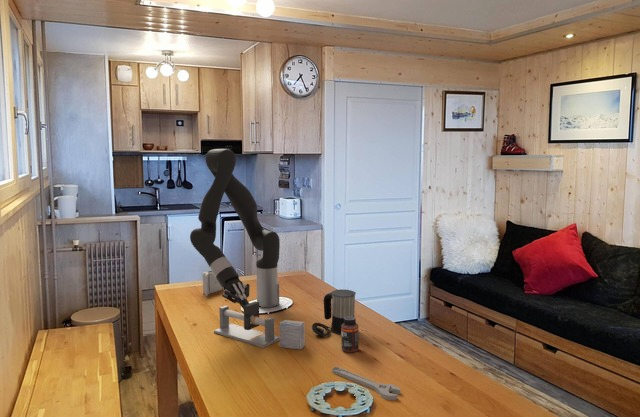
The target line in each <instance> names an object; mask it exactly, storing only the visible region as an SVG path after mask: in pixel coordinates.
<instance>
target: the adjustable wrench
mask: <svg viewBox="0 0 640 417" xmlns="http://www.w3.org/2000/svg"><path fill="white" fill-rule="evenodd" d="M331 373H333V374H334V375H337V376H340V377H343V378H344V379H347V380H349V381H352V382H355V383H357V384H359V385H362V386H364V387H366V388H369V389H372V390H374V391H375V392H376V393H377V394H378V395H379V396H380V397H381V398H383V399H384V400H388V401H396V400H398V397H399V395H401V388H400V387H398V386H397V385H394V384H392V383H387V384H386V383H380V382H377V381H373V380H372V379H369V378H366V377H365V376H361V375H359V374H356V373H354V372H351V371H350V370H347V369H345V368H342V367H339V366H332V368H331Z"/></svg>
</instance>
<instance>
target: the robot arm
mask: <svg viewBox="0 0 640 417" xmlns="http://www.w3.org/2000/svg"><path fill="white" fill-rule="evenodd" d="M236 162H237V156H236V154H235V152H234V151H233V150H231V149H229V148H214V149H210V150H208V151H207V153H206V155H205V164H206V166H207V168H208V170H209V171H210V172H211V174H212V175H213V177H214V180H213V182H212V184H211V185H210V187H209V189H208V191H207V192H206V194H205V195H204V197H203V199H202V202H201V205H200V209H199V213H198V217H197V218H198V221H199V222H200V223H201V225H200V226H201V227H197V228H195V229H193V230H191V232H190V234H189V235H190V236H189V240H190V242H191V245H192V246H193V247H194V249H195V250H196V252H198V253H199V255H201V256H202V258H204V260H205V262H206V264H207V265H208V266H209V268H210V270H212V273H213V274H214V276H215V277H216V279H217V281H218V282H219V284H220V285H221V287H223V289H222V290H224V291H223V293H222V294H221V297H223V298H224V299H226V300H228V301H230V302H232V303H233V304H239V306H240V307H241V308H242V310H243V311H244V305H247V304H249V303H250V302H249V301H248V298H249V297H250V284H249V283H246V284H244V283H243V280H242V281H241V280H240V278H239V274H238V272H237V271H236V269H235V268H234V266H233V265H232V263H231V261H229V259H228V258H227V257H226V255H225V254H224V252H223V250H222V249H221V248H220V247H219V246H217V245H216V244H215V240H216V239H217V238H216V237H217V219H218V215H219V212H220V208H221V203H222V200H223V196H224V194H225V195H226V197H227V198H228V201H229V202H230V204H231V206H232V208H233V209H234V211H235V213H236V215H238V217H239V219H240V221H241V223H242V225H243V226H244V229H245V230H246V232H247V235H248V238H249V239H250V242H251V243H252V246H253V247H254V248H255V249H256V250H258V251H262V258H259V259H257V260H256V261H255V262H256V263H255V264H256V266H255V267H256V268H255V269H256V270H255V271H256V272H255V273H256V302H259V306H261V307H260V308H264V307H269V308H274V307H277V306H280V284H279V282H278V274H279V273H278V263H279V261H280V248H281V246H280V244H281V242H280V236H279V234H278V233H277V232H276V231H272V230H268V229H265V228H263V226H262V225H261V222H260V221H259V218H258V205H257V202H256V200H255V198H254V196H253V195H252V193H251V191H250V190H249V189H248V187H246V185H244V184H243V183H242V182H241V181H240V180H239V179H238V178H237V177H236V176H234V174H233V172H234V169H235V167H236ZM276 305H277V306H276ZM273 306H274V307H273Z"/></svg>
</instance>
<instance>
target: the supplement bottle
mask: <svg viewBox="0 0 640 417" xmlns="http://www.w3.org/2000/svg"><path fill="white" fill-rule="evenodd" d="M340 335H341V336H340V337H341V340H340V341H341V343H340V344H341V350H342V351H343V352H345V353H356V352H357V351H359V349H360V348H359V345H360V344H359V339H360V338H359V337H360V335H359V323H357V321H356V316H354V317H352V316H348V317H345V318H344V323H343V324H342V326H341V334H340Z"/></svg>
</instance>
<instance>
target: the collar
mask: <svg viewBox="0 0 640 417" xmlns="http://www.w3.org/2000/svg"><path fill="white" fill-rule="evenodd" d="M243 314H244V321H243V327H244V329H245V330H250V329H253V330H254V329H255V328H258V327H260V326H261V325H258V324H257V325H255V324H253V323H250V316H254V317H255V316H257V317H259V318H260V307H259V302H257V301H252V302H249V304H247V305H244V310H243Z"/></svg>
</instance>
